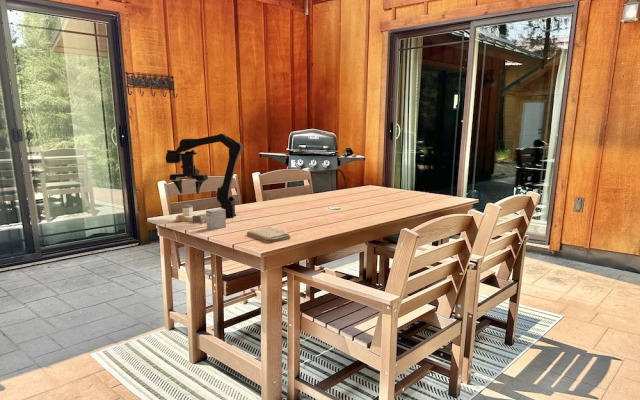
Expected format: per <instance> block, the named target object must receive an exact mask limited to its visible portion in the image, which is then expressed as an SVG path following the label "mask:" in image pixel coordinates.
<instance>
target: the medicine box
mask: <svg viewBox="0 0 640 400" xmlns="http://www.w3.org/2000/svg"><path fill="white" fill-rule="evenodd" d="M205 213H206V221H205V222H206V229H207V230H211V231H214V230H218V229H223V228H227V218H226V211H225V209H222V208H221V207H219V208H217V207H216V208H213V209H212V208H211V209H207V210H206V211H205Z"/></svg>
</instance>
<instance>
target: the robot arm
mask: <svg viewBox="0 0 640 400" xmlns="http://www.w3.org/2000/svg"><path fill="white" fill-rule="evenodd" d="M214 143H215V144H217V143H222V144H223V145H224V146H225V147H226V148H228V161H227V162H228V163H227V166H226V170H225V174H224V177H223V181H222V185H220V186H219V187H217V191H216V194H215V196H216V200H217V202H219V204H220V208H222V209H225V211H226V219H228V218H229V219H232V218H234V217H237V214H236V205H235V202H236V199H235V198H234V197H233V196H232V182H233V178H234V174H235V171H236V166H237V162H238V160H239V158H240V156H241V154H242V152H243V150H244V145H243V144H242V142H241V141H236V140H235V139H233V138H231V137H229V136H228V135H227V134H225V133H219V134H215V135H209V136H204V137H200V138H183V139H181V140H180V141H179V143H178V144H179V145H178V147H177V149H176V150H172V149H168V150H166V154H165V161H166V164H174V165H175V164H180V163H181V166H180V168H181V169H182V173H173V174H172V173H170V174H169V176H168V177H169V178H168V179H169V181H171V182H173V183H174V184H175V187H176V188H177V190H178V192H179V193H180V194H183V183H182V182H183V179H184V180H196V181H194V182H195V191H196V194H197V195H199V194H200V190H201V188H202V187H201V186H202V185H203V184H204V182H206V181H207V180H209V177H208V175H207V174H206V173H200V169H198V168H196V165H195V164H194V156H195V155H198V152H197V151H195V149H196V148H198V147H200V146H205V145H210V144H214Z"/></svg>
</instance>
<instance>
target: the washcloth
mask: <svg viewBox="0 0 640 400" xmlns="http://www.w3.org/2000/svg"><path fill="white" fill-rule="evenodd" d="M246 235H247V236H249V237H251V238H254V239H258V240H260V241H262V242H265V243H268V244H271V243H277V242H281V241H286V240H290V239H292V238H291V235H290V233H289V232H286V231H285V230H284V229H279V228H277V227H272V226H266V227H262V228H258V229H257V228H256V229H253V230H251V229H250V230H248V231H247V232H246Z"/></svg>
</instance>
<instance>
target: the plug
mask: <svg viewBox="0 0 640 400" xmlns="http://www.w3.org/2000/svg"><path fill="white" fill-rule="evenodd" d="M181 207H182V214H183V215H186V216H192V215H193V213H194V209H193V204H183V205H182V206H181Z"/></svg>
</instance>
